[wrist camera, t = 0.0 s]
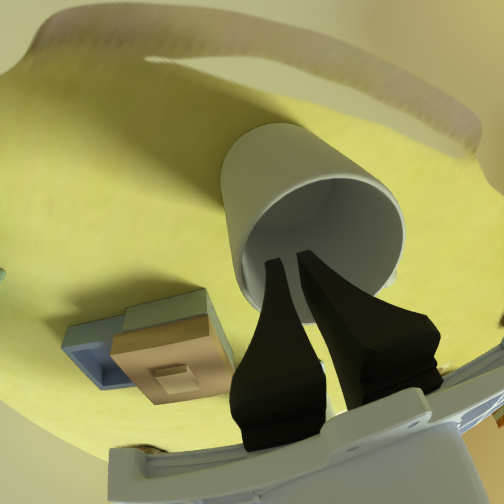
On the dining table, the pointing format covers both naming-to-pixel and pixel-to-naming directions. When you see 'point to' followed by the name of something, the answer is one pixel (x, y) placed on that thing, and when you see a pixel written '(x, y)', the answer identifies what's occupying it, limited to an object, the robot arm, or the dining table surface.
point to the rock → (150, 450)
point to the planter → (2, 275)
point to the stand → (176, 314)
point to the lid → (175, 360)
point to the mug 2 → (499, 416)
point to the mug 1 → (306, 213)
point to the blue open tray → (97, 352)
